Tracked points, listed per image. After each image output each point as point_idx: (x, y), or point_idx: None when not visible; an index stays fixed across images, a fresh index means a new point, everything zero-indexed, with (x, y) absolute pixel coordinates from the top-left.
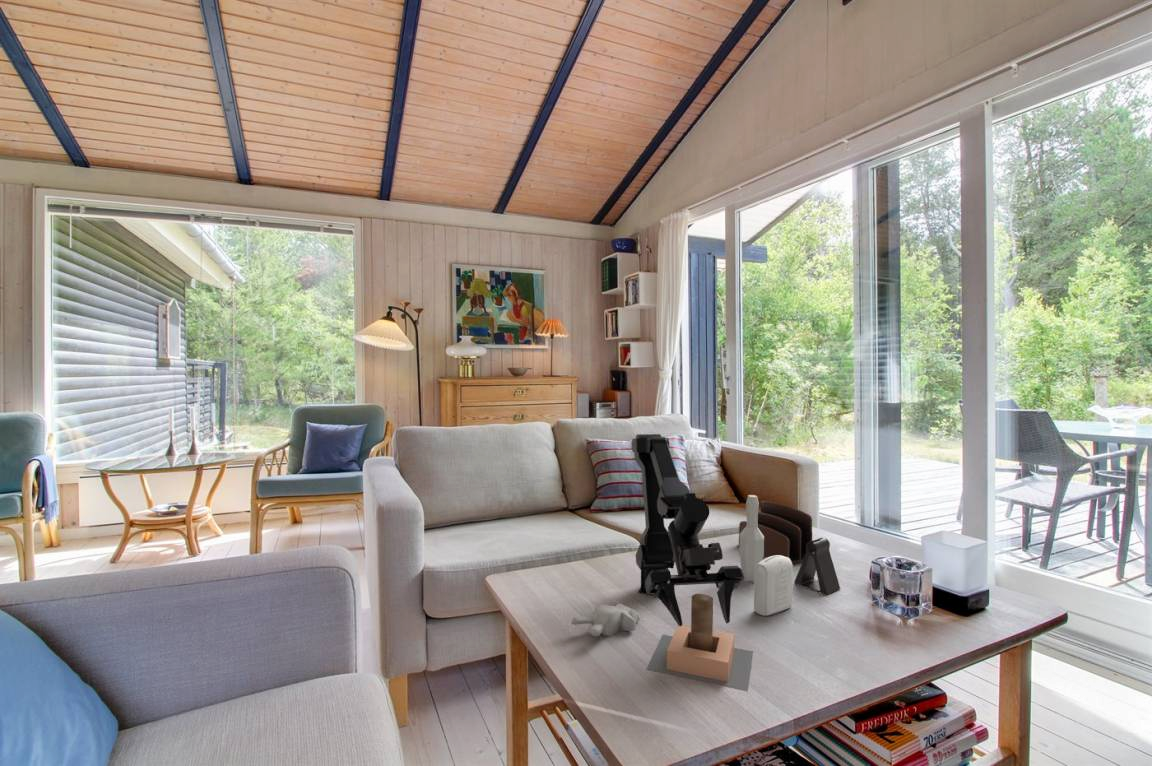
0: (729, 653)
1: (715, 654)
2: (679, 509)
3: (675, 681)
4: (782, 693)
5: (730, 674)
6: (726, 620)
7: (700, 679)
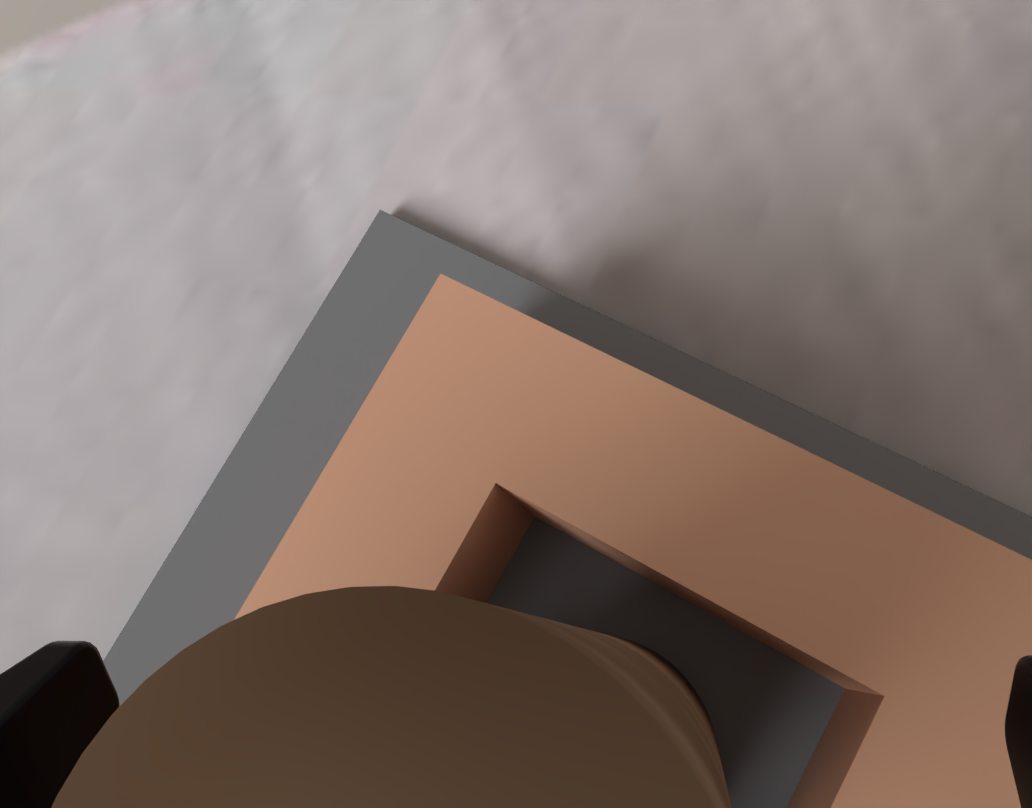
0: (341, 453)
1: (512, 446)
2: None
3: (987, 436)
4: (134, 204)
5: None
6: (87, 693)
7: (730, 401)
